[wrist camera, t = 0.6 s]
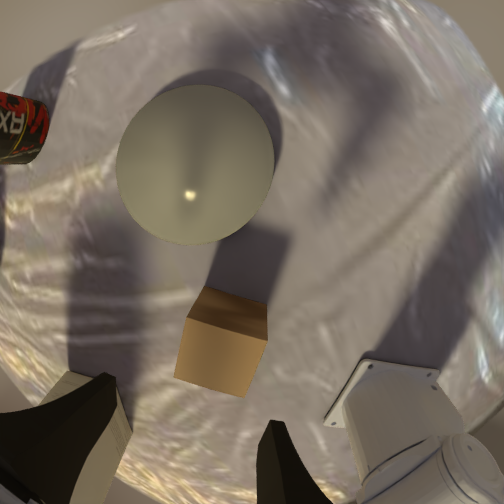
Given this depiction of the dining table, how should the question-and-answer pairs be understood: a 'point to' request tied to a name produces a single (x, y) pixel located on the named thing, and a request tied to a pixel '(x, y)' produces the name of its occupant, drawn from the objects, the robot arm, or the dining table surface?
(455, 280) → the dining table surface
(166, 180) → the khaki round plate
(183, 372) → the walnut block
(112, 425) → the skincare box
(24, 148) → the deodorant
